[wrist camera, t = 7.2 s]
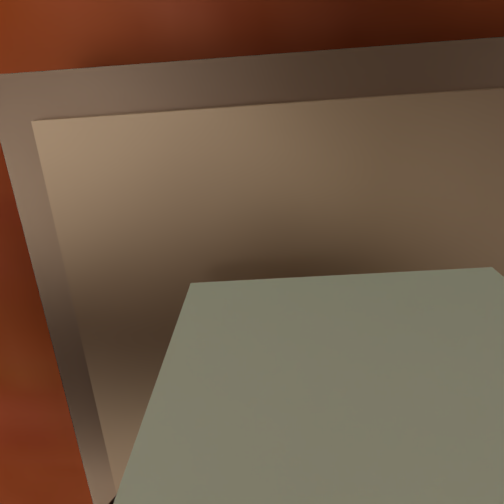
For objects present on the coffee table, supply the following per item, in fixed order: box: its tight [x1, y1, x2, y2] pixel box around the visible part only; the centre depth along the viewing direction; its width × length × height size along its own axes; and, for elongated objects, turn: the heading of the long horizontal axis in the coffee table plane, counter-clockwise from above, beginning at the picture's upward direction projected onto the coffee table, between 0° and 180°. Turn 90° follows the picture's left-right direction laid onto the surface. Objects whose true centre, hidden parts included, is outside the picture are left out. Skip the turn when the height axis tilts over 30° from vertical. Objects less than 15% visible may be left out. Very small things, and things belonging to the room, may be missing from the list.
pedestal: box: [0, 37, 504, 504], centre depth 12 cm, size 12×12×4 cm
